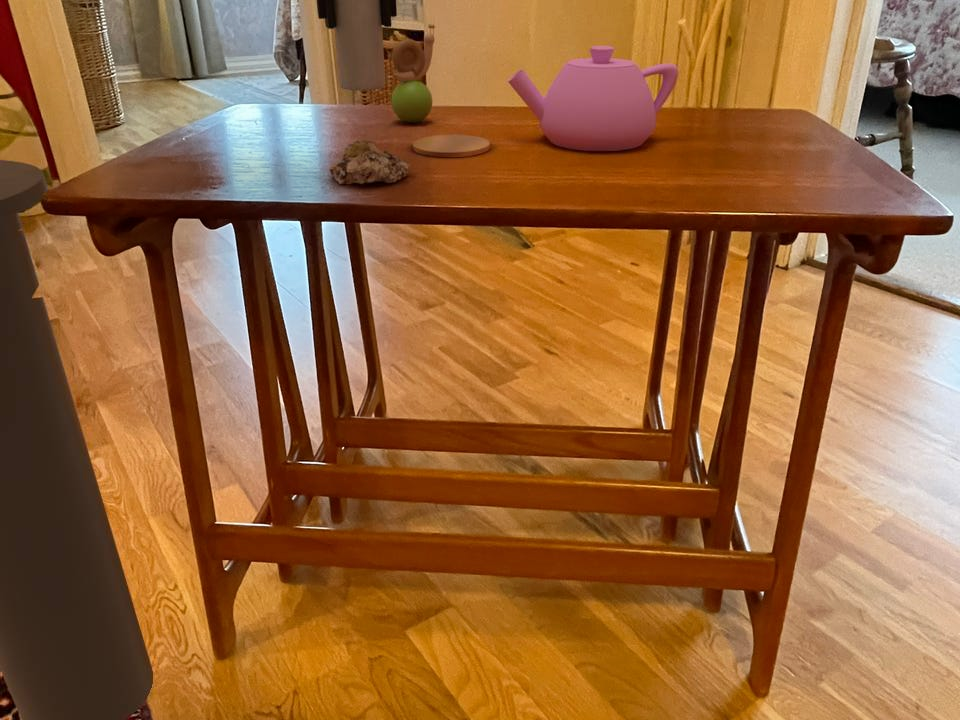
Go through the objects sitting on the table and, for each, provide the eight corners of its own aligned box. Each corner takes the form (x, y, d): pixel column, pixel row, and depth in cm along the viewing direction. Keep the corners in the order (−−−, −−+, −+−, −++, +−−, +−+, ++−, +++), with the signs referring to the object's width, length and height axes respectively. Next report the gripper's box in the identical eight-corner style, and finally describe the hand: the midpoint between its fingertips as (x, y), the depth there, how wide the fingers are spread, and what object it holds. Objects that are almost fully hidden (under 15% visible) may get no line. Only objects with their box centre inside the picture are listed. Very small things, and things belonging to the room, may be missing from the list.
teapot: (504, 129, 101) (504, 40, 96) (658, 127, 101) (667, 39, 96) (510, 154, 89) (511, 54, 84) (685, 152, 89) (697, 53, 84)
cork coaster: (421, 160, 87) (421, 154, 87) (406, 142, 95) (406, 137, 94) (499, 154, 89) (499, 149, 89) (478, 137, 97) (478, 132, 97)
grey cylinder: (383, 90, 76) (376, -29, 71) (336, 91, 76) (326, -28, 71) (387, 83, 80) (381, -30, 75) (342, 83, 80) (333, -30, 75)
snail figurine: (446, 122, 105) (444, 25, 99) (405, 128, 102) (400, 28, 96) (425, 115, 109) (422, 22, 103) (385, 121, 106) (379, 25, 100)
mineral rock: (421, 161, 77) (340, 143, 74) (411, 204, 79) (331, 188, 76) (402, 141, 86) (329, 125, 84) (393, 179, 88) (322, 165, 85)
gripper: (429, -197, 71) (435, 20, 80) (237, -204, 68) (266, 25, 76) (448, -210, 65) (453, 27, 74) (238, -219, 61) (269, 33, 70)
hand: (358, 24), depth 75 cm, fingers closed on grey cylinder, 4 cm apart
